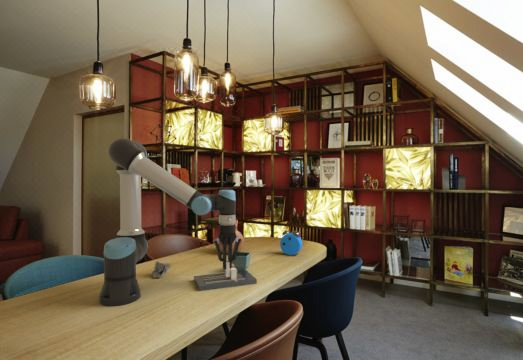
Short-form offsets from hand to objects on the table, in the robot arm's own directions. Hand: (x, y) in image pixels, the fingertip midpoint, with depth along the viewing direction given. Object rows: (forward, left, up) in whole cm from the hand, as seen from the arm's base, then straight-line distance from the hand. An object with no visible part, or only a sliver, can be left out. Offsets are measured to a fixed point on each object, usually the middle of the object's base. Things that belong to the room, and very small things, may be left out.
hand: (227, 275), depth 145 cm
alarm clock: (+52, +39, -4) cm, 65 cm away
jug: (+18, +59, -4) cm, 62 cm away
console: (0, +3, -4) cm, 5 cm away
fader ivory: (+3, 0, -1) cm, 3 cm away
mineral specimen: (-27, +25, -4) cm, 37 cm away
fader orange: (+4, +7, -1) cm, 8 cm away
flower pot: (+12, +17, -4) cm, 21 cm away
